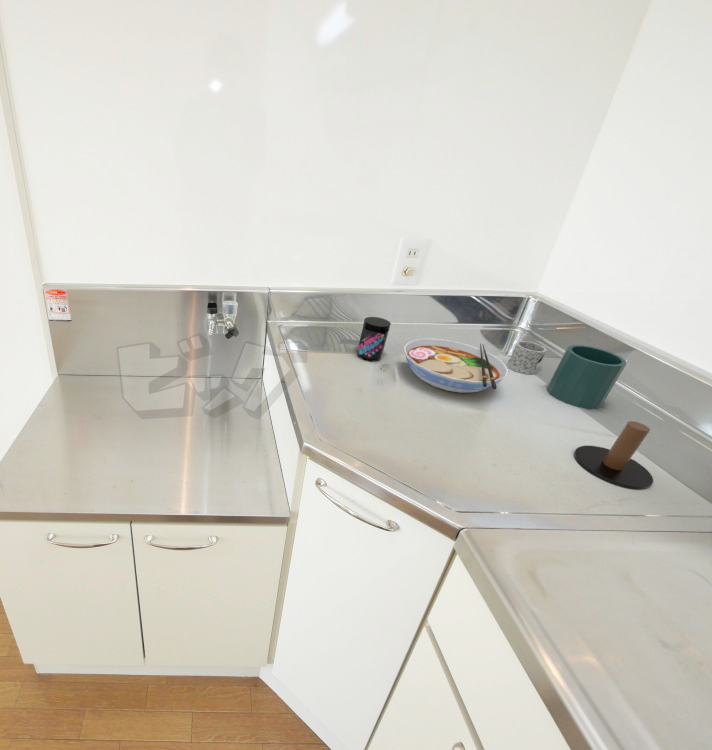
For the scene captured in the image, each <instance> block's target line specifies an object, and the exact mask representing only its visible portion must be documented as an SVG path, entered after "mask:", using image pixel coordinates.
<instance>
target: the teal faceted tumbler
mask: <svg viewBox="0 0 712 750" xmlns="http://www.w3.org/2000/svg"><path fill="white" fill-rule="evenodd" d="M626 366H627V361H626V360H625V359H624V358H623V357H621V356H620V355H618V354H616V353H614V352H611V351H608V350H605V349H603V348H599V347H596V346H595V347H594V346H590V345H584V344H583V345H582V344H571V345H568V346H567V347H566V350H565V352H564V353H563V355H562V358H561V359H560V361H559V363H558V365H557V367H556V369H555V371H554V373H553V375H552V377H551V379H550V380H549V383H548V385H547V386H546V391H547V393H548V394H549V395H550V396H552V398H554V399H555V400H558V401H559V402H562V403H564V404H567V405H570V406H572V407H576V408H580V409H586V410H596V409H597V410H598V409H599V408H602V405H603V404H604V402H606V399H607V398H608V396H609V394H610V393H611V391H612V390H613V387H614V386H615V385H616V382H617V381H618V379H619V378H620V376H621V374H622V372H623V371H624V369H625V368H626Z"/></svg>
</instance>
